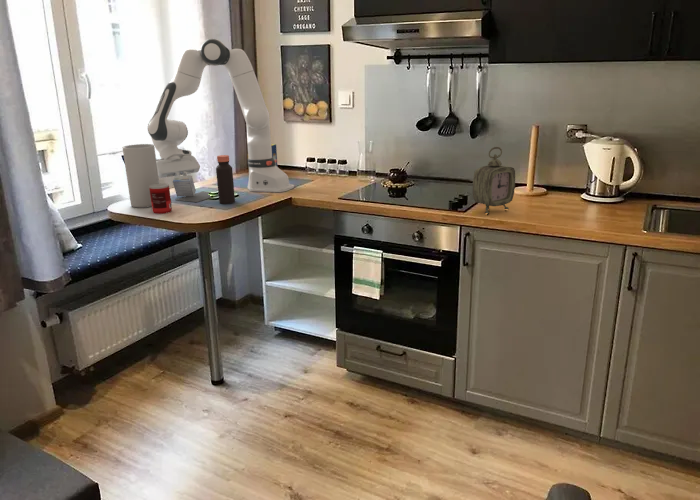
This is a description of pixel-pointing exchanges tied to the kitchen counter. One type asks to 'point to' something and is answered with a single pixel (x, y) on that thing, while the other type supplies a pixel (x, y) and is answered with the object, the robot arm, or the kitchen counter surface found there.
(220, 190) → the bottle
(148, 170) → the cylinder vase
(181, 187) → the medicine box
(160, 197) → the canned food
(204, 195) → the mat
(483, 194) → the tabletop clock
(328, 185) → the kitchen counter surface
